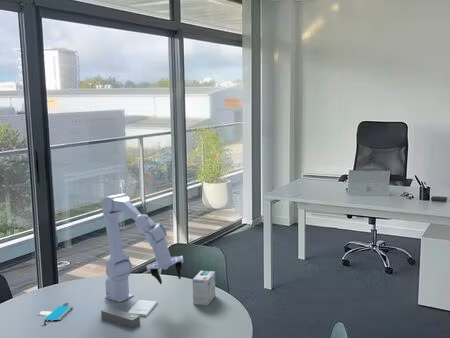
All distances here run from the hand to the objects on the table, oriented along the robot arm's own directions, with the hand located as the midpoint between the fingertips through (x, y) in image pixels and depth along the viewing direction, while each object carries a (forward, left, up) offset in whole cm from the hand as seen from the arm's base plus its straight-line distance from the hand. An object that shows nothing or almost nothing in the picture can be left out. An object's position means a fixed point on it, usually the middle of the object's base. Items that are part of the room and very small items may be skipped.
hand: (170, 279), depth 190 cm
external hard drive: (-7, -10, -11) cm, 16 cm away
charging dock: (-7, -22, -10) cm, 25 cm away
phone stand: (-34, -31, -11) cm, 47 cm away
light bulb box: (+10, +10, -10) cm, 17 cm away
